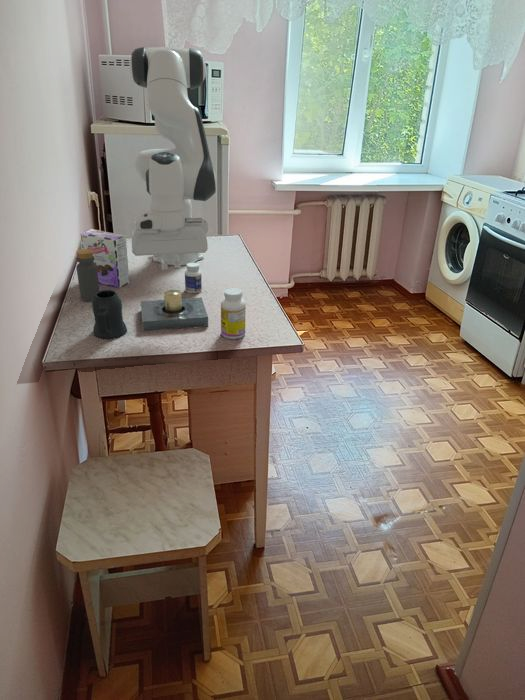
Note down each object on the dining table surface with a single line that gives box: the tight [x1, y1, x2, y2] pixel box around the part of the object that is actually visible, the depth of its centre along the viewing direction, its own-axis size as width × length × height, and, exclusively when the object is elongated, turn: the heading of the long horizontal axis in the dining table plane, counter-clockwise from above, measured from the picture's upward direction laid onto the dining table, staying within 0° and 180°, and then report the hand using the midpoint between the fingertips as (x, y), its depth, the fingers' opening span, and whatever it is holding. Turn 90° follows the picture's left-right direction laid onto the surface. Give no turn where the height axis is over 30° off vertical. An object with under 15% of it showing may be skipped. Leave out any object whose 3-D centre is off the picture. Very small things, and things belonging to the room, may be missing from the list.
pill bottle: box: [184, 262, 203, 294], centre depth 170 cm, size 5×5×9 cm
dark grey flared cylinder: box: [91, 289, 128, 340], centre depth 141 cm, size 12×9×11 cm
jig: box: [140, 297, 209, 332], centre depth 153 cm, size 14×18×3 cm
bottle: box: [75, 248, 101, 303], centre depth 161 cm, size 6×6×15 cm
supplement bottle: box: [220, 287, 247, 340], centre depth 143 cm, size 7×7×13 cm
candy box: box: [80, 228, 131, 289], centre depth 173 cm, size 14×6×16 cm, turn 65°
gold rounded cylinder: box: [163, 289, 183, 314], centre depth 152 cm, size 5×5×8 cm
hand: (171, 268), depth 147 cm, fingers open, 2 cm apart
